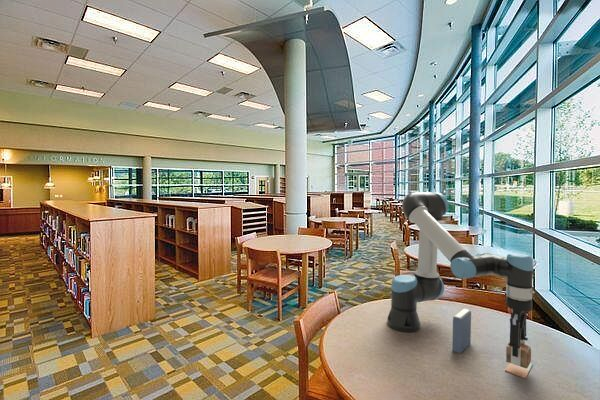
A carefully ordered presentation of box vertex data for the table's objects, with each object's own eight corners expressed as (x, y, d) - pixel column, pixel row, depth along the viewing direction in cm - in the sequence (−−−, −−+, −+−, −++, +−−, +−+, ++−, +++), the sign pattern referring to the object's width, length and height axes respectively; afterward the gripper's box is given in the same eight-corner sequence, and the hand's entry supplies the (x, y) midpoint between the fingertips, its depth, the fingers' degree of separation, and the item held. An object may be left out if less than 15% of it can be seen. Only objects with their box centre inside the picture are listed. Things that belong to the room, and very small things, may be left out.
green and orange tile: (504, 370, 106) (504, 369, 106) (509, 364, 110) (509, 363, 110) (525, 378, 101) (525, 377, 101) (529, 371, 105) (529, 370, 105)
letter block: (506, 361, 105) (506, 345, 105) (510, 355, 109) (510, 339, 109) (527, 369, 101) (527, 351, 101) (531, 362, 105) (531, 345, 105)
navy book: (452, 350, 119) (453, 316, 119) (462, 340, 127) (463, 307, 127) (460, 353, 117) (461, 318, 116) (470, 343, 125) (471, 310, 124)
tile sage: (509, 364, 110) (509, 363, 110) (512, 358, 114) (513, 357, 114) (529, 371, 105) (529, 370, 105) (532, 364, 110) (532, 363, 110)
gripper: (526, 307, 96) (525, 376, 96) (537, 293, 108) (535, 355, 109) (499, 301, 101) (498, 366, 102) (512, 288, 114) (511, 347, 115)
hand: (517, 360), depth 105 cm, fingers closed on letter block, 6 cm apart
